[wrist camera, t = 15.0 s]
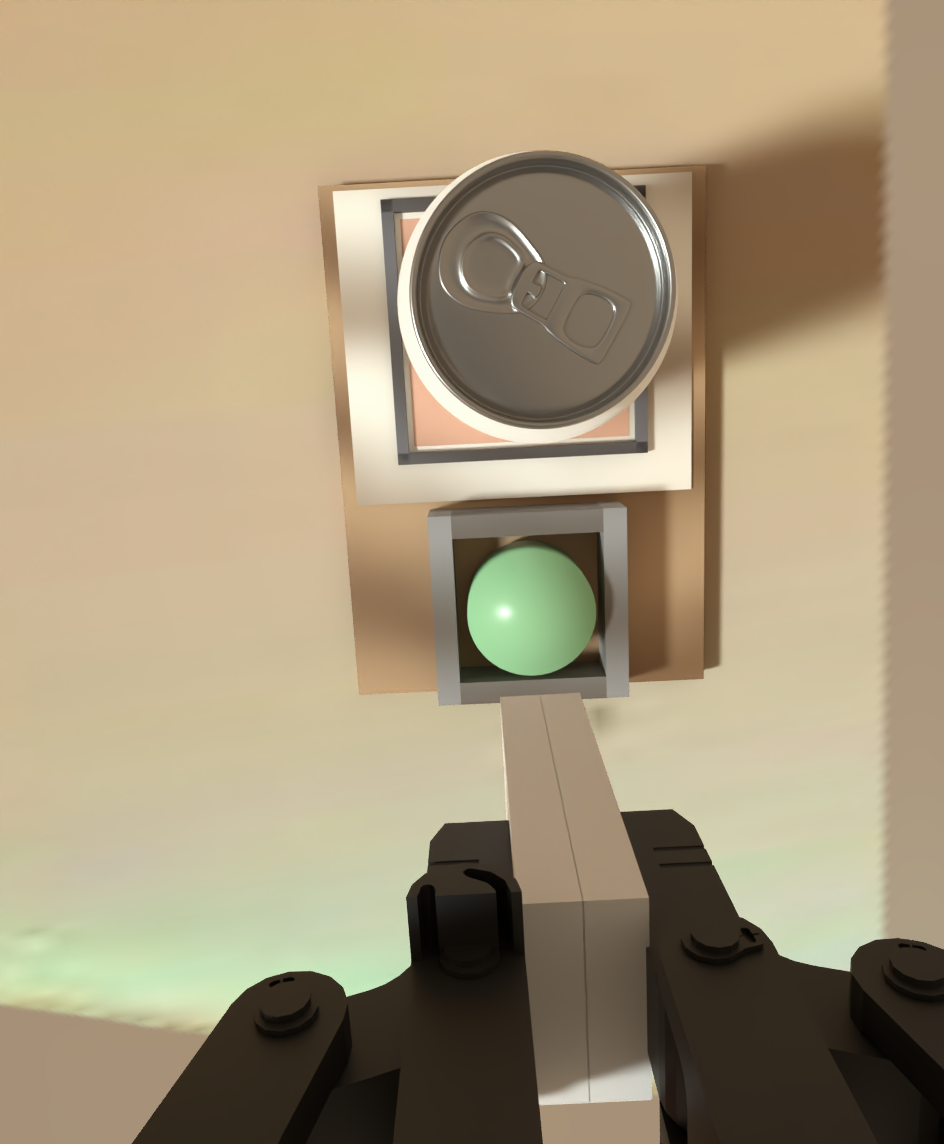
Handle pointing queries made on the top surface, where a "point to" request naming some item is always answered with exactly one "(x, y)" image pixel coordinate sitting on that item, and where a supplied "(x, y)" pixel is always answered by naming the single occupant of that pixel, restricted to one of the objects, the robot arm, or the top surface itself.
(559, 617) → the button
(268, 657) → the top surface
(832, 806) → the top surface
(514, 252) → the can
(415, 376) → the tan rectangular board
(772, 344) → the top surface
